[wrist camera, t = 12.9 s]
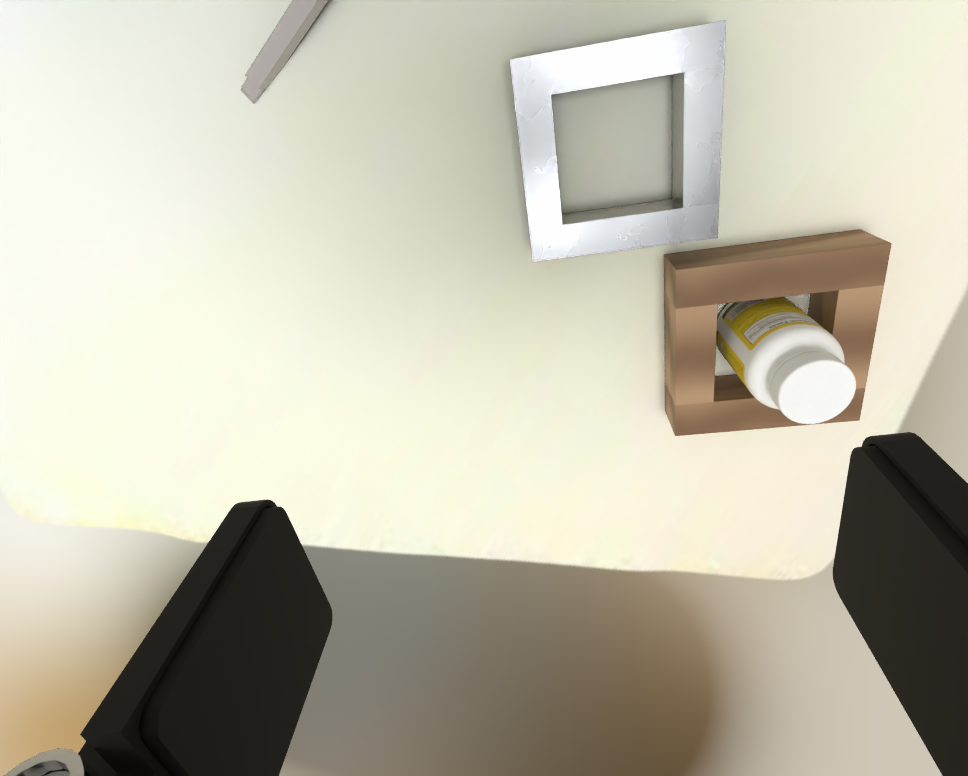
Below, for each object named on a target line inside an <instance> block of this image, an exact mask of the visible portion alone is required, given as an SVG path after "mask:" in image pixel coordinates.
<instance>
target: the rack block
mask: <svg viewBox="0 0 968 776" xmlns="http://www.w3.org/2000/svg"><path fill="white" fill-rule="evenodd" d="M890 249H891V243H889V242H887V241H885V240H883V239H881V238H878V237H876V236H874V235H872V234H869V233H867V232H865V231H863V230H853V231H845V232H837V233H829V234H821V235H814V236H806V237H798V238H790V239H782V240H774V241H767V242H759V243H751V244H743V245H735V246H728V247H720V248H712V249H704V250H696V251H689V252H681V253H673V254H665V255H664V315H665V412H666V414H667V417H668V419H669V422H670V424H671V426H672V429H673V431H674V434H675V436H681V435H693V434H704V433H716V432H728V431H740V430H752V429H763V428H775V427H787V426H799V425H811V424H802V423H797V422H794V421H792V420H790V419H789V418H787V417H786V416H785V415H784V414H783V413H782V412H781V411H780V410H779V409H774V408H771V407H768V406H766V405H764V404H762V403H761V402H759V401H758V400H757V399H756V398H755V397H754V396H753V395H752V394H751V393H750V391H749V390H748V389H747V387H746V386H745V385H744V383H743V382H742V381H741V379H740V378H739V376H738V375H737V374H736V375H726V376H716V377H715V356H716V331H717V306H718V304H723V303H732V302H741V301H749V300H758V299H767V298H776V297H784V296H793V295H802V294H810V293H811V298H810V306H809V314H808V316H809V317H810V318H812V319H813V320H814V321H815V322H817V323H818V324H819V325H820V326H822V327H823V328H824V329H825V330H827V331H828V332H829V333H830V334H831V335H832V336H833V337H834V338H835V339H836V340H837V341H838V342H839V344H840V346H841V348H842V350H843V353H844V361H845V365H846V366H847V367H848V368H850V370H851V371H852V372H853V374H854V377H855V380H856V390H855V394H854V397H853V399H852V400H851V402H850V403H849V405H848V406H847V407H846V408H845V409H844V410H843V411H842V412H841V413H840V414H838V415H837V416H835V417H833V418H831V419H829V420H827V421H824V422H821V423H816V424H822V423H834V422H846V421H858V420H860V414H861V409H862V403H863V398H864V392H865V387H866V381H867V376H868V370H869V365H870V359H871V354H872V348H873V342H874V337H875V331H876V326H877V320H878V315H879V309H880V304H881V298H882V293H883V287H884V282H885V276H886V271H887V265H888V260H889V254H890Z"/></svg>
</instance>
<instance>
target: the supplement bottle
mask: <svg viewBox="0 0 968 776" xmlns="http://www.w3.org/2000/svg"><path fill="white" fill-rule="evenodd" d="M716 344H717V347H718V349H719V350H720V352H721V353H722V355H723V356H724V358H725V359H726V360H727V361H728V363H729V364H730V366H731V367H732V368H733V370H734V371H735V372H736V374H737V375H738V376H739V378H740V379H741V381H742V382H743V383H744V385H745V386H746V387H747V389H748V390H749V391H750V393H751V394H752V395H753V396H754V397H755V398H756V399H757V400H758V401H759V402H761V403H762V404H764V405H766V406H768V407H771V408H774V409H779V410H780V411H781V412H782V413H783V414H784V415H785V416H786V417H787V418H789V419H790V420H792V421H794V422H797V423H802V424H816V423H821V422H824V421H827V420H829V419H831V418H833V417H835V416H837V415H838V414H840V413H841V412H842V411H843V410H844V409H845V408H846V407H847V406H848V405H849V403H850V402H851V400H852V399H853V397H854V394H855V390H856V380H855V377H854V374H853V372H852V371H851V370H850V368H848V367H847V366H846V365H845V361H844V353H843V350H842V348H841V346H840V344H839V342H838V341H837V340H836V339H835V338H834V337H833V336H832V335H831V334H830V333H829V332H828V331H827V330H825V329H824V328H823V327H822V326H820V325H819V324H818V323H817V322H815V321H814V320H813V319H812V318H810V317H809V316H808V315H807V314H806V313H804V312H803V311H802V310H801V309H799V308H798V307H797V306H795V305H794V304H793V303H792V302H790V301H789V300H788V299H786V298H785V297H776V298H767V299H758V300H749V301H741V302H732V303H729V304H728V305H727V306H726V307H725V308H724V309H723V311H722V312H721V314H720V315H719V317H718V319H717V331H716Z"/></svg>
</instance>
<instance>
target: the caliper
mask: <svg viewBox="0 0 968 776" xmlns="http://www.w3.org/2000/svg"><path fill="white" fill-rule="evenodd" d="M327 1H328V0H293V1H292V2H291V4H290V6H289V7H288V9H287V10H286V12H285V13H284V15H283V16H282V18H281V20H280V21H279V23H278V24H277V26H276V27H275V29H274V31H273V32H272V34H271V35H270V37H269V38H268V40H267V42H266V43H265V45H264V46H263V48H262V49H261V51H260V53H259V54H258V56H257V57H256V59H255V60H254V62H253V64H252V65H251V67H250V68H249V70H248V71H247V73H246V76H247V79H246V81H245V82H244V84H243V85H242V87H241V88H242V89H241V91H242V92H243V93H244V94H245V95H246V96H247V97H248V98H249V99H250V100H251V101H252V102H253V103H255V102H256V101H257V100H258V99H259V97H260V96H261V94H262V93H263V91H264V90H265V88H266V87H268V86H269V85H270V83H271V82H272V81H273V79H274V78H275V77H276V76H277V74H278V73H279V72H280V70H281V69H282V68H283V67H284V65H285V64H286V62H287V61H288V59H289V58H290V56H291V55H292V53H293V52H294V50H295V49H296V47H297V46H298V44H299V43H300V41H301V40H302V38H303V37H304V35H305V34H306V32H307V31H308V30H309V28H310V27H311V25H312V24H313V22H314V21H315V19H316V18H317V16H318V15H319V13H320V12H321V10H322V9H323V7H324V6H325V4H326V3H327Z"/></svg>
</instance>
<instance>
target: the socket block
mask: <svg viewBox="0 0 968 776" xmlns="http://www.w3.org/2000/svg"><path fill="white" fill-rule="evenodd" d="M725 34H726V20H724V21H719V22H713V23H708V24H702V25H697V26H691V27H686V28H680V29H675V30H669V31H664V32H658V33H653V34H647V35H642V36H636V37H630V38H625V39H619V40H614V41H608V42H603V43H597V44H592V45H586V46H581V47H575V48H570V49H564V50H559V51H553V52H548V53H542V54H537V55H531V56H526V57H520V58H515V59H510V67H511V76H512V84H513V93H514V102H515V110H516V119H517V128H518V136H519V145H520V154H521V162H522V171H523V180H524V188H525V197H526V206H527V214H528V223H529V232H530V241H531V249H532V258H533V262H536V261H543V260H551V259H559V258H566V257H574V256H582V255H589V254H597V253H605V252H612V251H620V250H628V249H635V248H643V247H651V246H658V245H666V244H674V243H681V242H689V241H697V240H704V239H712V238H718V217H719V191H720V165H721V138H722V112H723V86H724V60H725ZM671 74H672V199H668V200H661V201H654V202H646V203H639V204H632V205H625V206H618V207H611V208H604V209H597V210H590V211H583V212H576V213H569V214H561V202H560V191H559V180H558V168H557V157H556V146H555V134H554V123H553V112H552V100H551V95H553V94H559V93H565V92H571V91H577V90H583V89H589V88H594V87H600V86H606V85H612V84H618V83H624V82H630V81H635V80H641V79H647V78H653V77H659V76H665V75H671Z"/></svg>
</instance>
